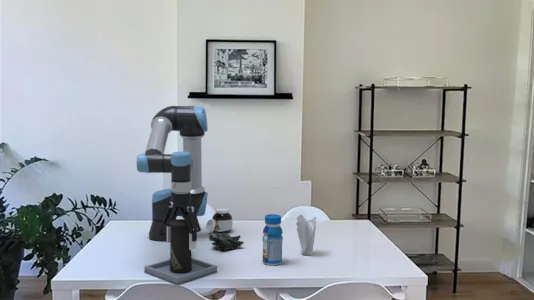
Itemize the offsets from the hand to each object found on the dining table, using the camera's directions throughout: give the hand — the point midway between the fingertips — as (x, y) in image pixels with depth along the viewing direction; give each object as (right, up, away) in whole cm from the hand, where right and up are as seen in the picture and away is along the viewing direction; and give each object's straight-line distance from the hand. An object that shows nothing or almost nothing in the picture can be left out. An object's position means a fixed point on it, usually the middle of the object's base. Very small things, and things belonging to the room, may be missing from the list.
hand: (181, 245), depth 204 cm
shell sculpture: (+51, -9, +28) cm, 59 cm away
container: (0, -10, +1) cm, 10 cm away
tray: (0, -11, +1) cm, 11 cm away
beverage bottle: (+36, -10, +15) cm, 40 cm away
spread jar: (+9, -5, +63) cm, 64 cm away
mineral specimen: (+15, -8, +34) cm, 38 cm away
